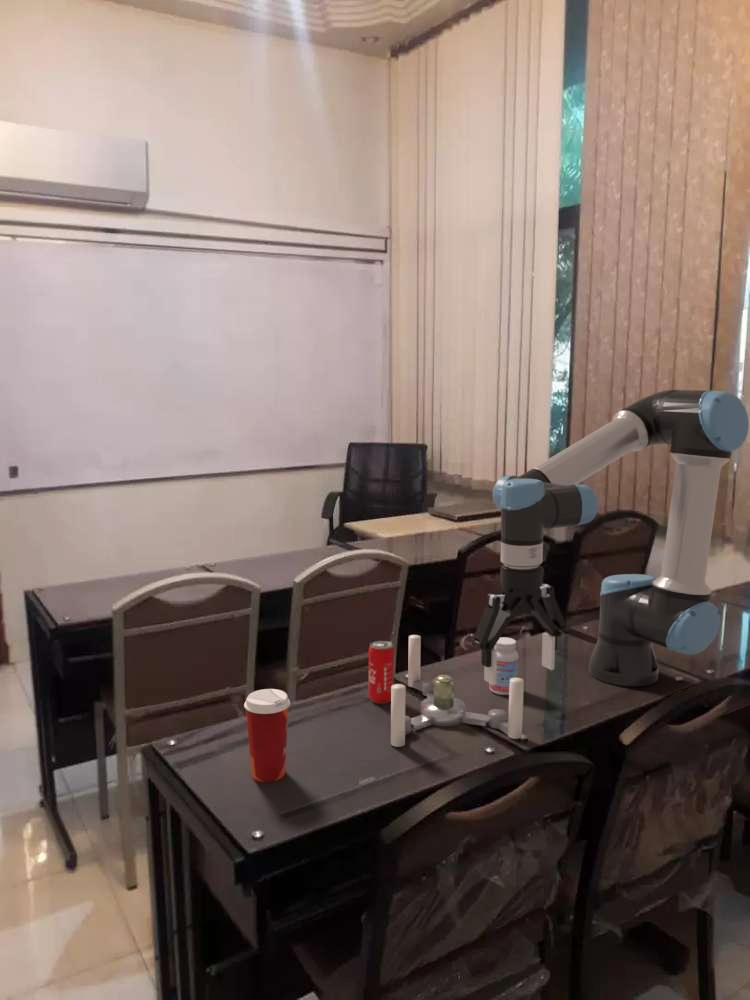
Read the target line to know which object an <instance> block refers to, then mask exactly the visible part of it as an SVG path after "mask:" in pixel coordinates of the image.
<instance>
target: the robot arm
mask: <svg viewBox="0 0 750 1000" xmlns="http://www.w3.org/2000/svg"><path fill="white" fill-rule="evenodd" d="M749 425H750V424H749V415H748V412H747V409H746V406H745V405H744V404H743V402H742V400H741V399H740V398H739V397H738V396H737V395H735V394H734V393H732V392H726V391H719V390H713V389H712V390H709V389H708V390H691V389H690V390H689V389H687V390H684V389H682V390H681V389H667V390H661V391H659V392H655V393H653V394H650V395H648V396H645V397H643V398H641V399H639V400H637V401H635V402H633V403H631V404H630V405H628V406H626V407H624V408H623V409H621V410H619V411H617V412H616V413H615V414H614V415H613V416H612V419H611V421H609V422H608V423H607V424H605V425H602V426H601V427H600V428H598V429H596V430H595V431H593V432H591V433H590V434H588V435H587V436H584V437H583V438H581V439H579V440H578V441H576V442H574V443H573V444H571V445H570V446H568V447H566V448H565V449H563V450H561V451H559V452H558V453H556V454H555V455H553V456H551V457H550V458H548V459H546V460H545V461H543V462H542V463H539V464H538V465H536V466H534V467H533V468H532V469H530V470H528V471H526V472H524V473H522V474H520V475H518V476H517V475H505V476H502V477H500V478H499V479H498V480H497V481H496V482H495V484H494V485H493V489H492V500H493V503H494V505H495V507H496V508H497V509H498V510H500V535H501V536H500V538H501V539H500V562H501V563H502V564H501V566H500V585H501V588H502V589H501V590H502V591H501V593H500V594H493V593H488V594H487V596H486V604H485V608H484V610H483V613H482V615H481V618H480V621H479V623H478V625H477V628H476V631H475V633H474V636H473V638H472V640H471V644H472V646H474V647H476V648H478V649H480V650H481V657H480V659H481V665H482V666H484V667H483V668H484V669H483V673H484V674H483V676H484V677H483V680H484V681H485V682H487V683H488V684H489V683H490V684H492V685H496V684H497V650H495V647H494V646H495V645H496V643H497V641H498V640H499V638H500V637H501V636H502V635H503V633H504V632H505V630H506V629H507V627H508V625H509V624H510V622H512V621H513V620H514V619H515V618H516V616H517V617H521V616H522V615H525V614H526V615H530V614H532V615H533V616H534V618H535V619H536V620H537V621H538V622H539V624H540V625H541V626H542V627H543V629H544V630H545V631H546V632H543V633H542V635H541V637H542V638H541V639H542V640H541V642H542V643H541V666H542V667H544V668H546V669H549V670H550V671H553V670H555V662H556V661H555V658H556V657H555V656H556V655H555V654H556V653H555V652H556V651H557V649H558V637H562V635H563V632H562V631H564V632H565V631H566V630H567V624H566V621H565V618H564V616H563V614H562V612H561V609H560V606H559V605H558V601H557V599H556V597H555V588H554V586H552V585H550V584H547V583H543V566H542V565H541V564H542V563H543V556H544V555H543V553H544V530H545V531H546V530H552V529H558V528H566V527H577V526H580V525H585V524H588V523H590V522H591V521H593V520H594V519H595V517H596V516H597V513H598V507H599V506H598V505H599V504H598V503H599V502H598V497H597V495H596V493H595V491H594V490H593V488H591V487H590V486H589V485H587V484H580V483H581V482H584V481H585V480H586V479H588V478H590V477H592V476H593V475H595V474H596V473H598V472H599V471H601V470H603V469H604V468H606V467H607V466H609V465H611V464H612V463H614V462H616V461H617V460H618V459H621V458H622V457H623V456H625V455H627V454H629V453H630V452H641V451H642V450H644V449H646V448H647V447H650V446H655V445H669V446H670V451H669V455H670V456H671V457H672V458H673V460H674V461H675V463H676V464H675V470H674V476H673V486H672V494H671V498H670V499H671V501H670V507H669V514H668V515H669V516H668V520H667V521H668V523H667V529H666V536H665V537H666V538H665V544H664V552H663V558H662V567H661V571H660V572H661V575H660V576H658V577H657V578H655V576H652V575H648V574H641V573H640V574H639V573H629V574H628V573H624V574H614V575H609V576H607V577H605V578H604V579H603V580H602V582H601V587H600V589H601V590H600V593H599V612H598V614H599V615H598V616H599V617H598V618H599V619H598V623H599V624H598V638H597V641H596V644H595V646H594V649H593V650H592V651H593V652H592V653H591V656H590V658H589V661H588V673H589V674H590V675H591V676H592V677H593V678H595V679H596V680H599V681H602V682H604V683H607V684H612V685H614V686H621V687H622V686H623V687H646V686H650V685H653V684H655V683H657V681H658V680H659V672H660V671H659V665H658V663H657V658H656V653H655V651H654V647H653V644H656V645H659V646H660V647H663V648H666V649H668V650H669V651H671V652H675V653H676V652H677V653H680V654H684V655H689V656H692V655H696V654H700V653H701V652H703V651H704V650H706V649H707V648H708V647H709V646H710V645H711V644H712V642H713V641H714V640H715V638H716V636H717V634H718V632H719V629H720V626H721V613H720V612H719V608H718V607H717V606H716V605H715V604H714V603H712V602H711V596H712V590H711V589H710V587H709V586H708V585H707V584H706V578H707V577H706V576H707V571H708V569H707V568H708V561H709V556H710V555H709V553H710V548H711V540H712V533H713V527H714V519H715V512H716V505H717V500H718V499H717V498H718V491H719V485H720V478H721V477H720V476H721V471H722V467H723V466H724V465H726V464H728V462H730V461H731V459H732V452H734V451H736V450H738V449H739V448H741V447H742V446H743V444H744V442H745V441H746V439H747V438H748V437H747V436H748V434H749ZM540 598H541V599H542V602H543V605H544V607H545V609H546V612H547V613H546V612H545V609H544V607H543V606H542V605H541V603H540V602H539V601H540Z"/></svg>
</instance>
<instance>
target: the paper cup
mask: <svg viewBox="0 0 750 1000" xmlns="http://www.w3.org/2000/svg"><path fill="white" fill-rule="evenodd" d="M290 705H291V701H290V699H289V697H288V694H287V693H286V692H285V691H284V690H281V689H276V688H264V689H259V690H255V691H253V692H251V693H249V694H248V695H247V697H246V700H245V702H244V704H243V707H244V709H245V711H246V724H247V736H248V745H249V746H248V747H249V759H250V768H251V770H250V772H251V776H252V779H254V780H255V781H257V782H260V783H274V782H277V781H280V780H281V779H283V777H284V776H285V773H286V763H287V762H286V759H287V741H288V740H287V738H288V737H287V736H288V719H289V718H288V717H289V707H290Z"/></svg>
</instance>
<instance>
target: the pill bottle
mask: <svg viewBox="0 0 750 1000" xmlns="http://www.w3.org/2000/svg"><path fill="white" fill-rule="evenodd" d="M516 648H517V641H516V640H515V639H514V638H511V637H507V636H506V637H504V636H502V637H500V638H499V640H498V641H497V643H496V645H495V646H494V649H495V650H497V684H496V685H492V684H490V683H488V684H489V686H488V687H489V690H490V691H491V692H492V693H494V694H496V695H500V696H501V695H502V696H509V687H510V679H511V678H519V676H518V675H519V660H520V659H519V656H520V655H519V653H518V651H517V650H516Z"/></svg>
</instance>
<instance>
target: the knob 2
mask: <svg viewBox="0 0 750 1000" xmlns="http://www.w3.org/2000/svg"><path fill="white" fill-rule="evenodd" d="M524 687H525V680H524V679H523V678H520V677H518V678H511V679H510V687H509V695H508V712H507V711H506V710H504V709H500V708H499V709H498V708H494V709H493V708H492V709H489V710H488V714H487V715H488V723H487V725H488V726H489V727H491V728H492V729H499V731H502V732H503V733H504V734H505V735H507V736H508V738H509V739H513V740H518V739H521V738H522V737H523V716H524V715H523V713H524Z"/></svg>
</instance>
